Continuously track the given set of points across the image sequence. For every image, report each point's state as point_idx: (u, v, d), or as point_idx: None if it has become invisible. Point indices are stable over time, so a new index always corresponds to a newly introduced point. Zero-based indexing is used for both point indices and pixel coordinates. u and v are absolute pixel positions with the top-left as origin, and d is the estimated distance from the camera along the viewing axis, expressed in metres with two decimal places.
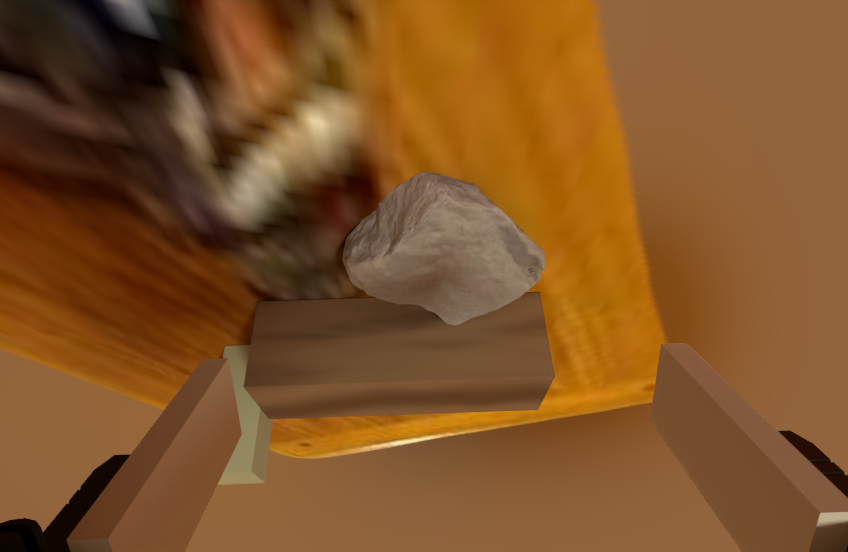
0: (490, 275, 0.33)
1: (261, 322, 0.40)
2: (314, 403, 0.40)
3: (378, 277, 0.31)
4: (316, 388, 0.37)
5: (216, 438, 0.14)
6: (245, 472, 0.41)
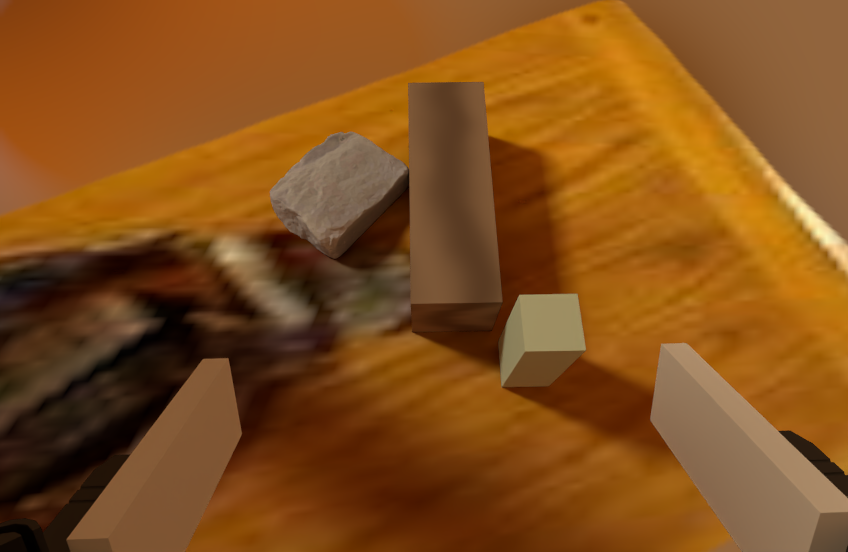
0: (337, 158, 0.50)
1: None
2: (457, 251, 0.42)
3: (316, 217, 0.46)
4: (418, 245, 0.42)
5: (216, 438, 0.14)
6: (523, 301, 0.36)
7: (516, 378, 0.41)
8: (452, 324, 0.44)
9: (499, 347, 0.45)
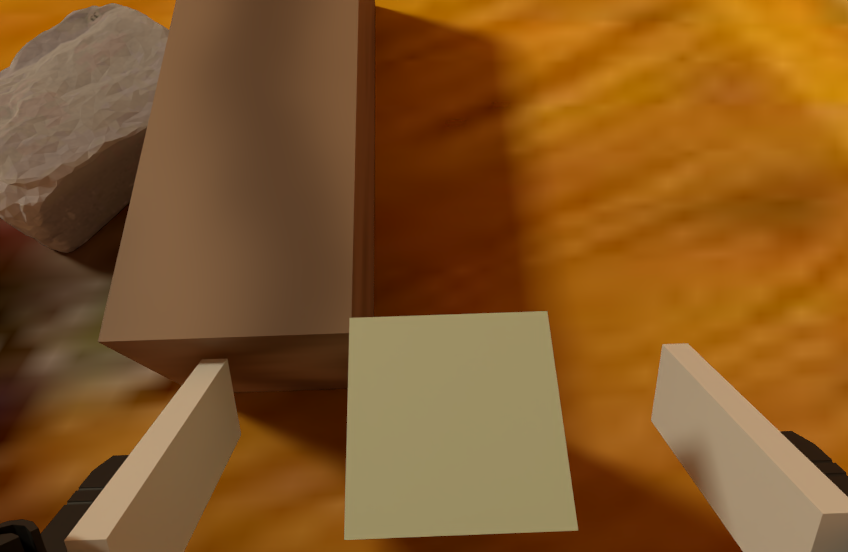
0: (71, 49, 0.25)
1: None
2: (250, 203, 0.16)
3: None
4: (153, 188, 0.17)
5: (215, 439, 0.14)
6: (361, 342, 0.10)
7: None
8: (272, 379, 0.19)
9: None
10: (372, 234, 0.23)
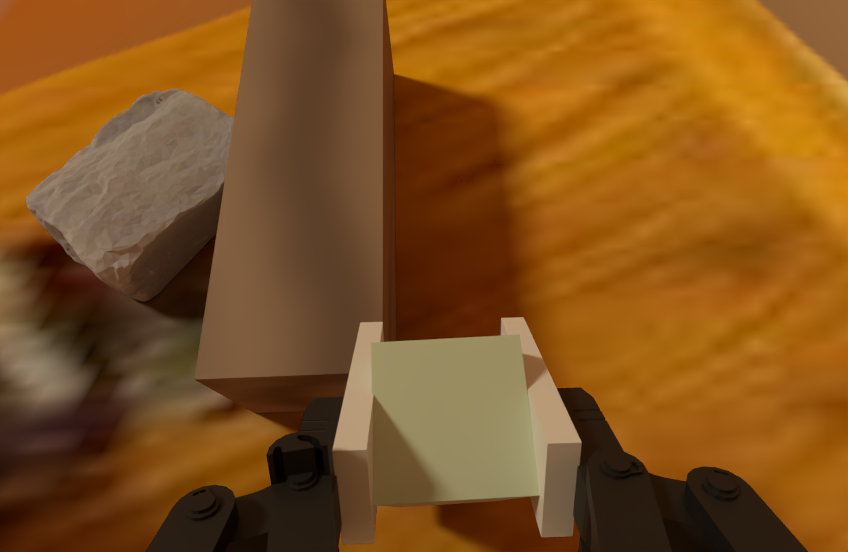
0: (143, 131, 0.30)
1: None
2: (303, 269, 0.21)
3: (87, 232, 0.26)
4: (228, 258, 0.21)
5: None
6: (380, 361, 0.14)
7: (413, 505, 0.20)
8: None
9: None
10: (394, 279, 0.28)
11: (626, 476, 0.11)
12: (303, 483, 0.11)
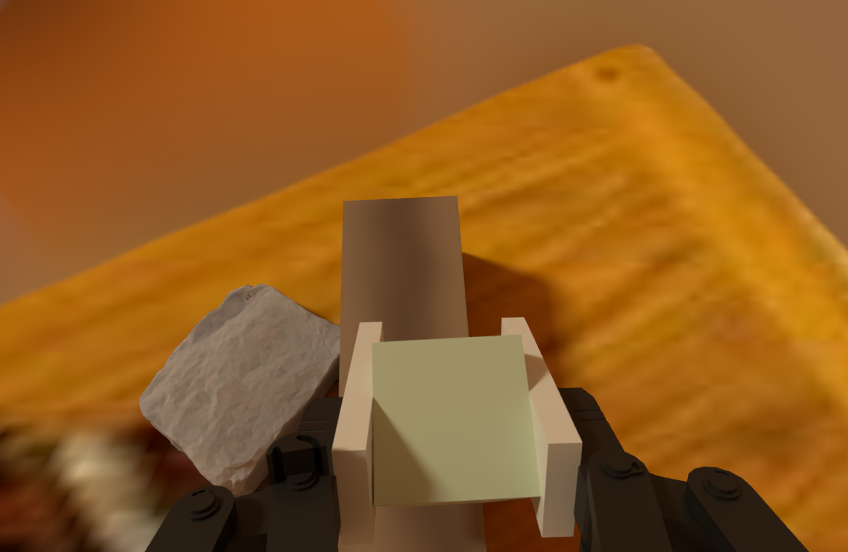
0: (240, 334, 0.33)
1: None
2: (415, 512, 0.25)
3: (207, 450, 0.29)
4: None
5: None
6: (381, 361, 0.14)
7: None
8: None
9: None
10: None
11: (627, 476, 0.11)
12: (302, 483, 0.11)
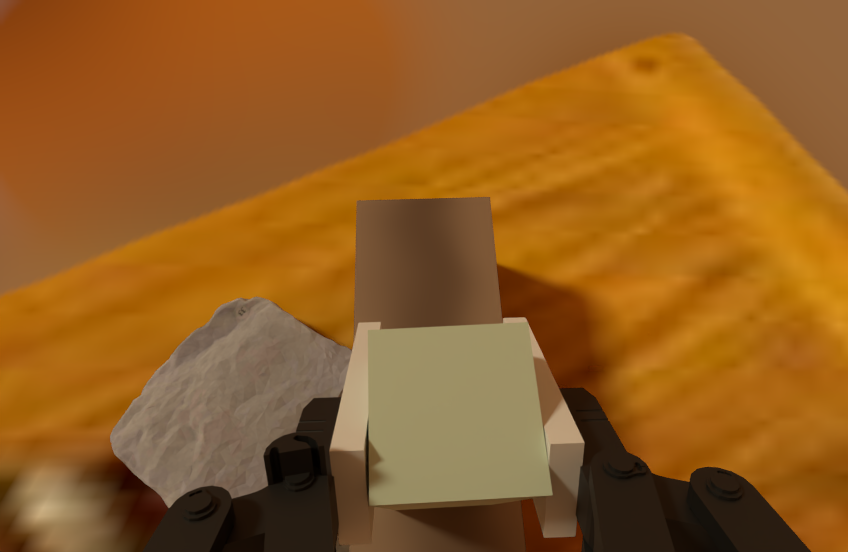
0: (232, 357, 0.28)
1: None
2: None
3: None
4: None
5: None
6: (378, 349, 0.13)
7: (410, 508, 0.18)
8: None
9: None
10: None
11: (629, 476, 0.11)
12: (300, 484, 0.11)
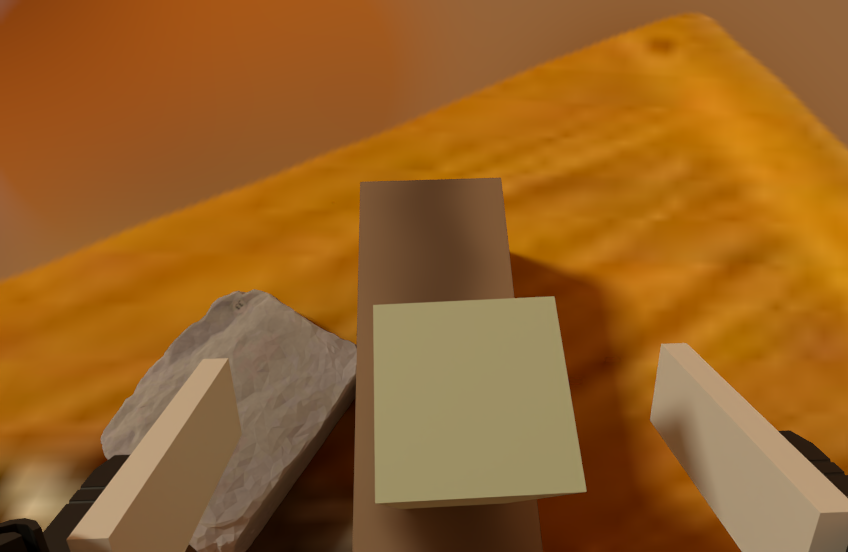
0: (229, 352, 0.27)
1: None
2: None
3: None
4: None
5: (216, 438, 0.14)
6: (384, 327, 0.11)
7: None
8: None
9: None
10: None
11: None
12: None
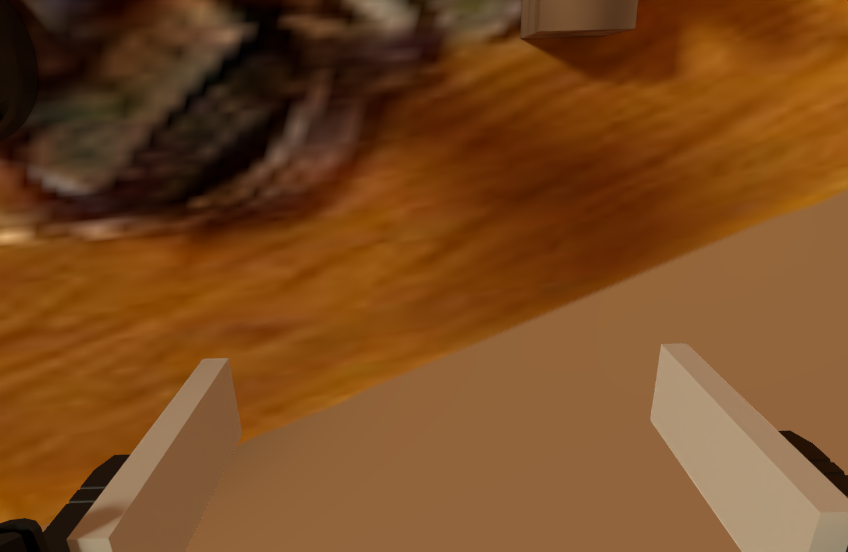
0: None
1: (525, 29, 0.42)
2: None
3: None
4: None
5: (216, 438, 0.14)
6: None
7: None
8: (567, 35, 0.43)
9: None
10: None
11: None
12: None
